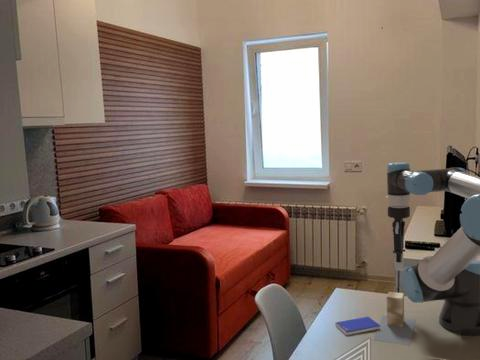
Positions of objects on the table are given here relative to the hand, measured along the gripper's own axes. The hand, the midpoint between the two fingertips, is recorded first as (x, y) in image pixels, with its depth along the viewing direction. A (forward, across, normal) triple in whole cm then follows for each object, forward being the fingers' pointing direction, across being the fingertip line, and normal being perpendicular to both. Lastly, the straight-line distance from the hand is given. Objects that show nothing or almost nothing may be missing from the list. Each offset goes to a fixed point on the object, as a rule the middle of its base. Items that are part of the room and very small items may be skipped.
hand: (399, 269), depth 171 cm
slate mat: (+15, +17, +1) cm, 23 cm away
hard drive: (+15, +20, -11) cm, 27 cm away
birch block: (+15, +12, 0) cm, 19 cm away
